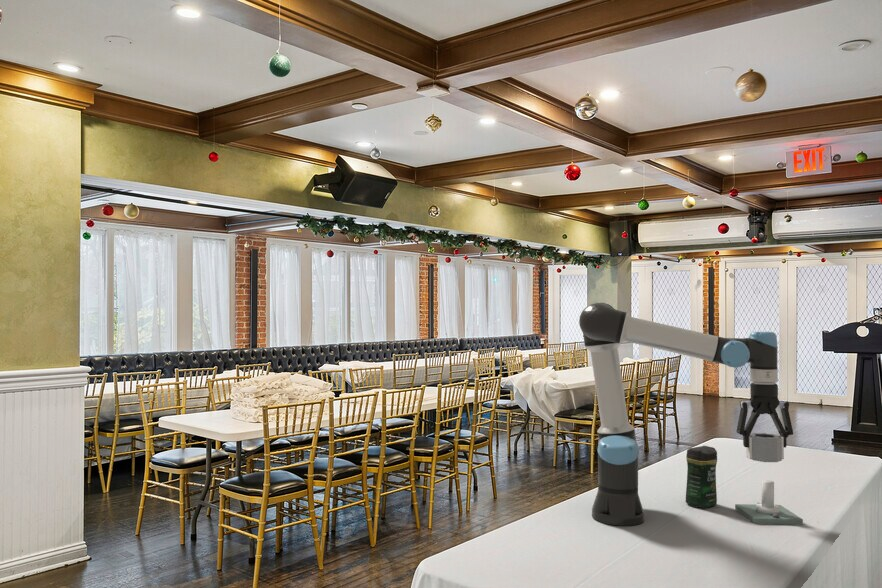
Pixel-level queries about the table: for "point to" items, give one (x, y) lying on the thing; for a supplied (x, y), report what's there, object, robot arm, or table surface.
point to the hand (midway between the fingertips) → (764, 458)
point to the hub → (766, 447)
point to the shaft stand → (768, 509)
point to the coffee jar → (701, 477)
